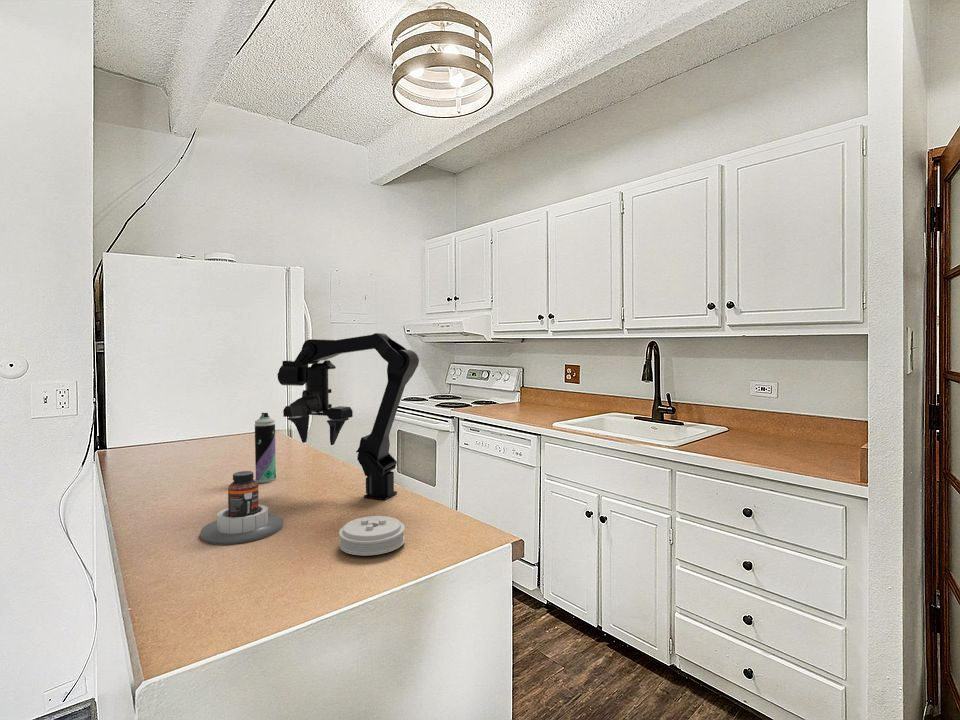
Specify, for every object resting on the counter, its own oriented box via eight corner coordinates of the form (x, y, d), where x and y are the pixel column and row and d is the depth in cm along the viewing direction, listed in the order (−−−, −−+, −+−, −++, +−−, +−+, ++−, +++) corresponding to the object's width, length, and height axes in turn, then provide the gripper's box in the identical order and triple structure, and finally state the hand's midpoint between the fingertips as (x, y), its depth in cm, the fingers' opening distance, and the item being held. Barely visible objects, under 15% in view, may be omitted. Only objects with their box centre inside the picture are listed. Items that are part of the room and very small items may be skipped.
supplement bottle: (257, 528, 107) (256, 475, 107) (226, 531, 105) (225, 477, 105) (260, 518, 113) (259, 468, 112) (230, 522, 111) (229, 470, 111)
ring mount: (298, 521, 114) (298, 504, 114) (242, 549, 99) (242, 528, 99) (243, 513, 119) (243, 497, 119) (182, 538, 104) (182, 519, 104)
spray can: (256, 483, 145) (255, 414, 144) (255, 479, 150) (253, 412, 149) (276, 481, 147) (275, 413, 147) (275, 477, 152) (273, 410, 152)
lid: (350, 534, 107) (349, 511, 106) (409, 535, 106) (409, 511, 106) (330, 560, 94) (329, 533, 94) (398, 560, 93) (397, 534, 93)
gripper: (267, 387, 132) (268, 447, 132) (327, 389, 125) (328, 452, 126) (297, 384, 142) (298, 439, 143) (353, 385, 136) (354, 443, 136)
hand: (318, 443), depth 137 cm, fingers open, 9 cm apart
